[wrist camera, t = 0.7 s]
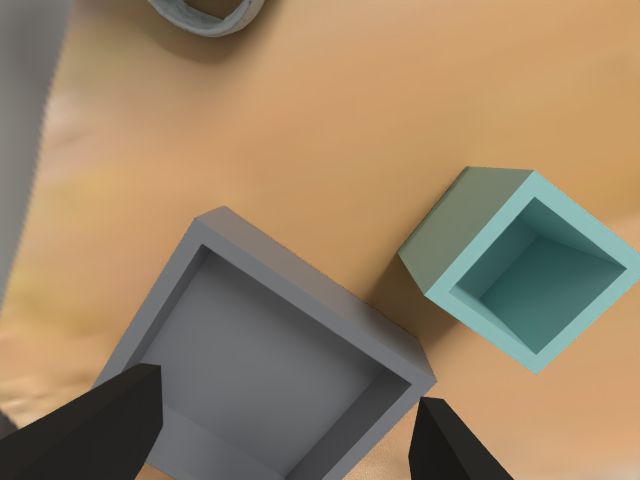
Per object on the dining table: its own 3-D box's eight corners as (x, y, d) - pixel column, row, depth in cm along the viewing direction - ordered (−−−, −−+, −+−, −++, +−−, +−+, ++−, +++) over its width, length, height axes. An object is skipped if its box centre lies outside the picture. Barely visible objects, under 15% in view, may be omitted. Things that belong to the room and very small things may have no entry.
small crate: (549, 230, 16) (654, 265, 11) (475, 308, 17) (536, 375, 12) (466, 166, 15) (534, 170, 10) (396, 252, 17) (423, 295, 11)
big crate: (418, 339, 18) (437, 381, 14) (290, 479, 21) (281, 540, 18) (224, 205, 17) (195, 217, 13) (118, 375, 20) (72, 419, 16)
